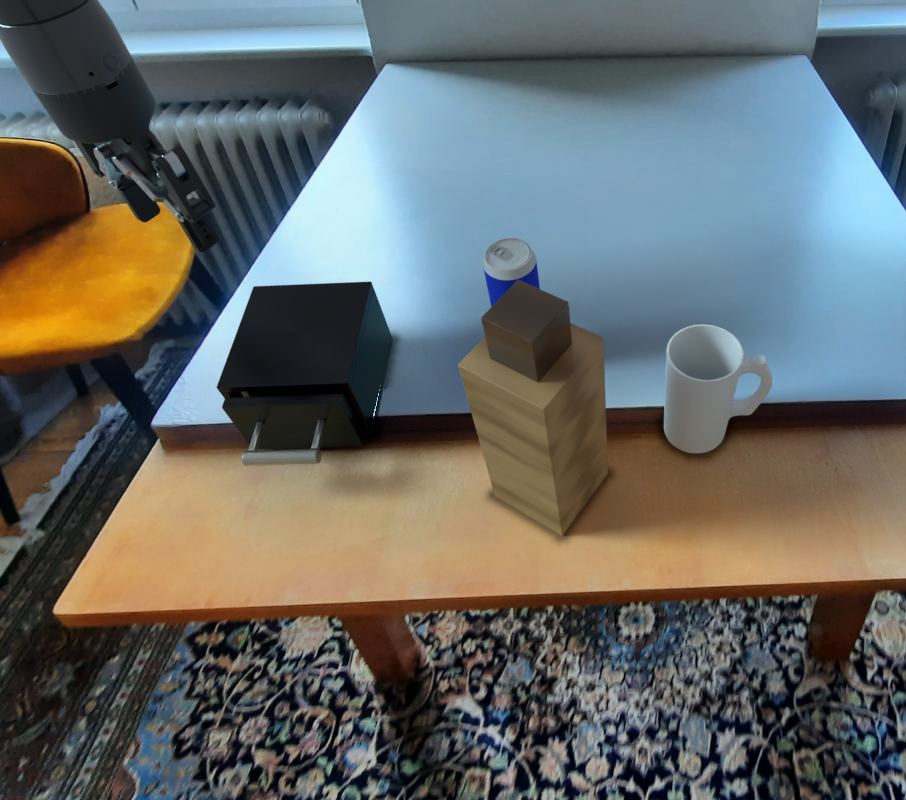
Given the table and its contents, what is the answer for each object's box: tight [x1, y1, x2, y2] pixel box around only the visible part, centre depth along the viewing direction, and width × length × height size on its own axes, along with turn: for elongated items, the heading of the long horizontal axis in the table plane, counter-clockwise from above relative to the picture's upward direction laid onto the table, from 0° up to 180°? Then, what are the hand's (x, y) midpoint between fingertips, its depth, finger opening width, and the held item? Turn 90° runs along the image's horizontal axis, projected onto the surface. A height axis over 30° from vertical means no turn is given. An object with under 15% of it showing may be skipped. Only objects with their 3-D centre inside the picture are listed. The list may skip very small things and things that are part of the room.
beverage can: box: [482, 237, 541, 308], centre depth 76 cm, size 5×5×15 cm
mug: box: [663, 323, 773, 454], centre depth 70 cm, size 10×7×12 cm, turn 89°
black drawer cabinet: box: [216, 281, 394, 438], centre depth 77 cm, size 14×13×9 cm
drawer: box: [221, 388, 366, 467], centre depth 74 cm, size 17×11×7 cm, turn 0°
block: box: [480, 280, 572, 382], centre depth 54 cm, size 4×4×4 cm
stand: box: [457, 322, 609, 536], centre depth 64 cm, size 8×8×20 cm
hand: (179, 231), depth 69 cm, fingers open, 8 cm apart
